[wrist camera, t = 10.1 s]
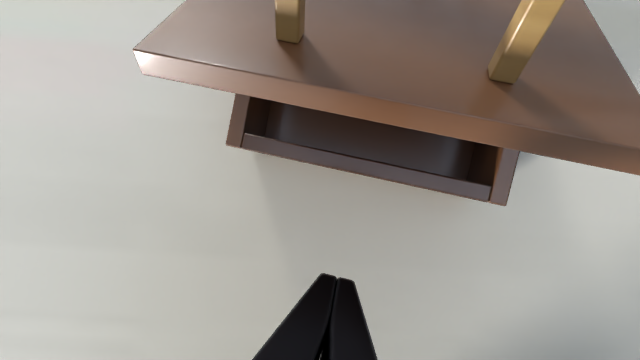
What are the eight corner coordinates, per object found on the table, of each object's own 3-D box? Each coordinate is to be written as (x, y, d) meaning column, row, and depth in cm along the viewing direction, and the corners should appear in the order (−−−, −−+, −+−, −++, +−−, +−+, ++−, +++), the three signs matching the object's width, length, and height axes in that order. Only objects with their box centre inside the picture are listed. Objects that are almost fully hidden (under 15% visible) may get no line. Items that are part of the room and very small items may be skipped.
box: (471, 197, 20) (506, 206, 16) (252, 149, 21) (224, 145, 17) (511, 35, 20) (559, -5, 15) (283, -5, 21) (264, -53, 16)
